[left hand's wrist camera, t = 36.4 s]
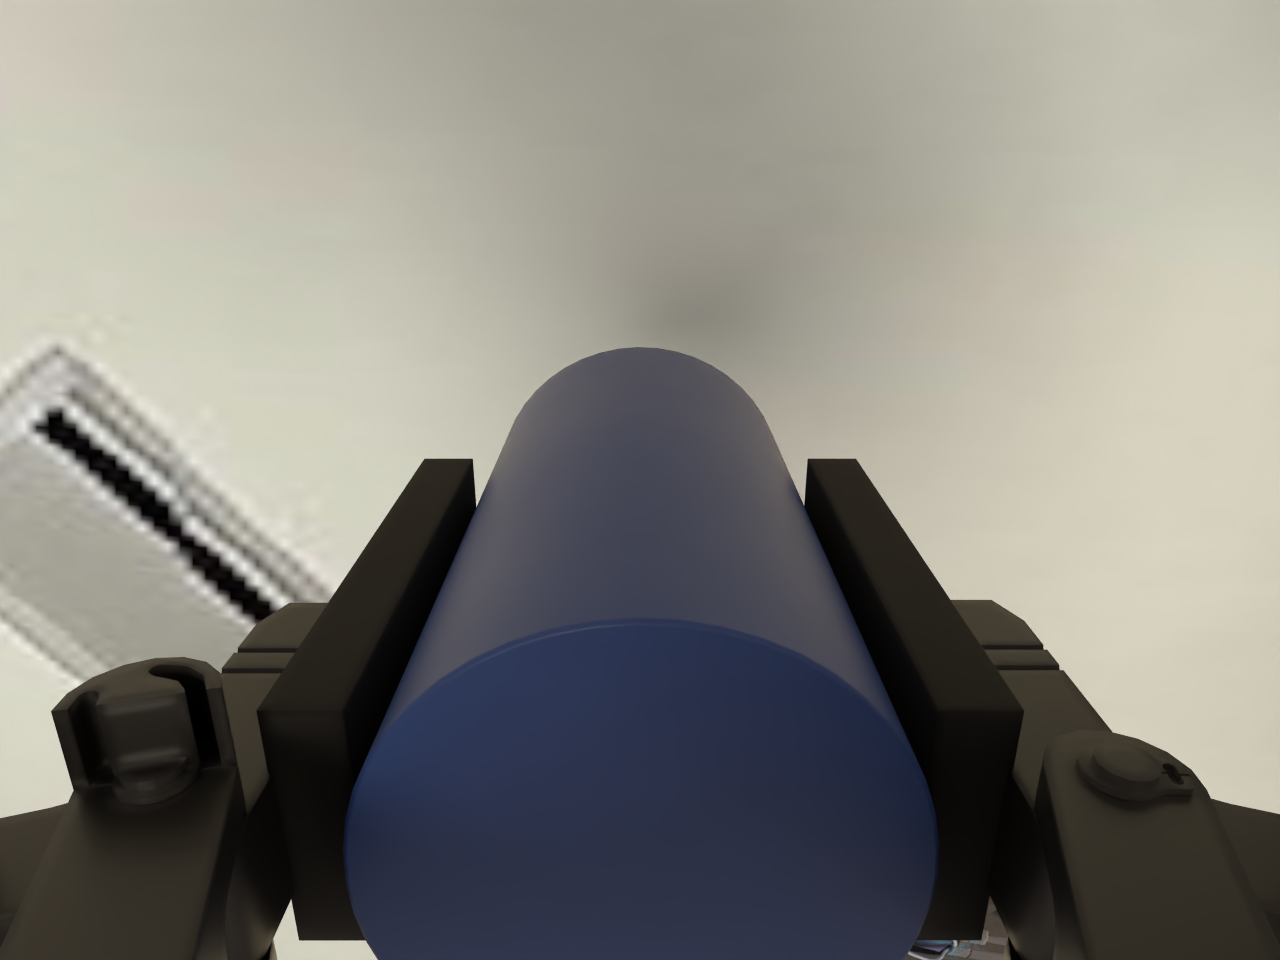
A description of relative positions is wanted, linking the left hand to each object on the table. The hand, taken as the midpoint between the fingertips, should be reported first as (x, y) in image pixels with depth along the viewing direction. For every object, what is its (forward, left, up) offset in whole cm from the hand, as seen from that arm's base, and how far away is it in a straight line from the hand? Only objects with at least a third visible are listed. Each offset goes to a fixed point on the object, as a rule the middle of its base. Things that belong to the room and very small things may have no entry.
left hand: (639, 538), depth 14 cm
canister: (0, 0, -3) cm, 3 cm away
